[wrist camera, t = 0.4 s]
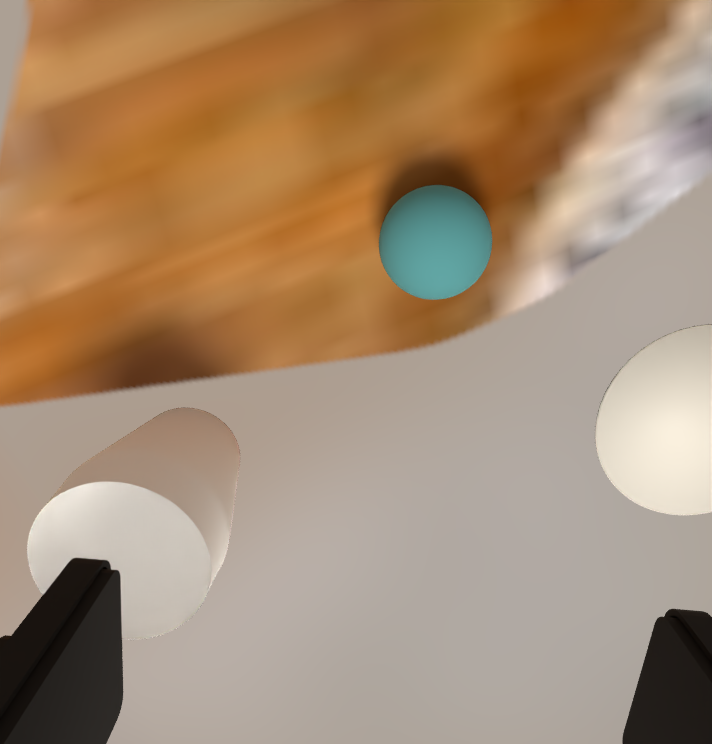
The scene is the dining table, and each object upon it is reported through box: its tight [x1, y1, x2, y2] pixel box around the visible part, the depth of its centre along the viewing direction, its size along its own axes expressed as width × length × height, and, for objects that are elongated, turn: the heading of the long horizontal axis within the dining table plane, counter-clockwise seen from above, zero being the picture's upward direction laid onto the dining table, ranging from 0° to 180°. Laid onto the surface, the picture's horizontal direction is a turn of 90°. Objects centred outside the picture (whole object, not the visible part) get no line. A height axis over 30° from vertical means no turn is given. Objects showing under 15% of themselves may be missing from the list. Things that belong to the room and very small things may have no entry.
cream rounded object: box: [595, 324, 712, 515], centre depth 38 cm, size 13×13×1 cm
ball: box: [379, 185, 492, 299], centre depth 33 cm, size 6×6×6 cm
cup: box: [27, 408, 240, 640], centre depth 34 cm, size 9×9×12 cm
